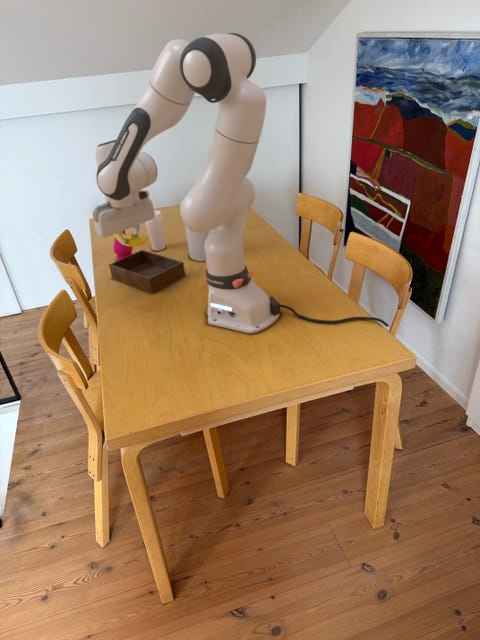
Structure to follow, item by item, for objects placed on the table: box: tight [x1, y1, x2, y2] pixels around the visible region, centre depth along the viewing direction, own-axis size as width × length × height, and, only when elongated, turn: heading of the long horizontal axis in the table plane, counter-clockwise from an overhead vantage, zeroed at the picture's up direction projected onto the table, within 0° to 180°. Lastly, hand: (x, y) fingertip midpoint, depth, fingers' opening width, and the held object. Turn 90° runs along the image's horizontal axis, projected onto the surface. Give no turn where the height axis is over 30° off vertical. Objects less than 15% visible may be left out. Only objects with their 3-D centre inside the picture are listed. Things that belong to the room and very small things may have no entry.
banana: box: [113, 233, 149, 248], centre depth 143 cm, size 3×19×6 cm, turn 50°
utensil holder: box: [184, 224, 209, 262], centre depth 173 cm, size 15×15×18 cm
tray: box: [108, 249, 186, 295], centre depth 163 cm, size 22×15×6 cm
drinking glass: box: [144, 210, 166, 252], centre depth 182 cm, size 7×7×15 cm
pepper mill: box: [113, 230, 134, 261], centre depth 175 cm, size 7×7×20 cm
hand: (130, 241), depth 144 cm, fingers closed on banana, 3 cm apart
